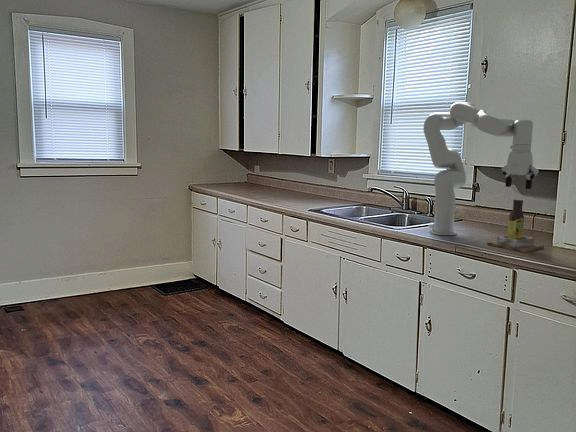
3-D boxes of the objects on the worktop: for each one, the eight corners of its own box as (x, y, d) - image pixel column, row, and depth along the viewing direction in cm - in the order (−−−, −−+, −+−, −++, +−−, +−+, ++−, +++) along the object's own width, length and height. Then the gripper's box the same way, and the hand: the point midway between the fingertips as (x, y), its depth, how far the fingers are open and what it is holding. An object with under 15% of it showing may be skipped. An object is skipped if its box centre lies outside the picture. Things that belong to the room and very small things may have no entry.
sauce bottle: (516, 245, 236) (520, 200, 233) (503, 243, 241) (507, 199, 238) (525, 244, 240) (528, 199, 237) (512, 241, 245) (515, 198, 242)
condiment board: (487, 244, 244) (487, 235, 243) (507, 241, 252) (507, 232, 252) (523, 252, 229) (524, 242, 228) (543, 248, 237) (544, 239, 237)
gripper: (498, 148, 240) (495, 186, 243) (534, 149, 226) (531, 190, 229) (509, 147, 244) (506, 185, 247) (545, 149, 230) (541, 189, 233)
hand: (518, 187), depth 238 cm, fingers open, 9 cm apart
